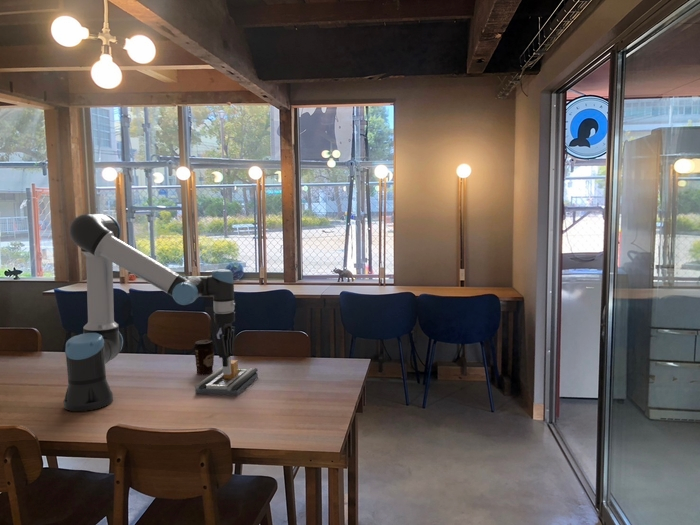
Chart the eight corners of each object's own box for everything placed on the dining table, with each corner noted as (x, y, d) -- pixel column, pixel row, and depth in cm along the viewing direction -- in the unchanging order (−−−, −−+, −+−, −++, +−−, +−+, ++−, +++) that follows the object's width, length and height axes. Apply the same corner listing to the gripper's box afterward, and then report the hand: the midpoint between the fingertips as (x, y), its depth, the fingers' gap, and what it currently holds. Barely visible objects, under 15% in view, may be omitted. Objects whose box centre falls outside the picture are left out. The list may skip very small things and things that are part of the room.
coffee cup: (219, 370, 218) (218, 339, 217) (212, 376, 210) (210, 344, 209) (198, 369, 219) (197, 338, 218) (190, 376, 211) (189, 344, 209)
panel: (237, 395, 188) (237, 387, 188) (195, 393, 191) (195, 384, 191) (257, 377, 208) (257, 369, 207) (219, 375, 211) (218, 367, 210)
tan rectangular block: (234, 378, 200) (233, 363, 200) (224, 378, 201) (223, 363, 200) (238, 375, 204) (237, 360, 203) (228, 375, 205) (227, 360, 204)
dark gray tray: (235, 391, 187) (235, 387, 187) (194, 389, 190) (194, 385, 190) (257, 371, 209) (257, 368, 208) (220, 370, 211) (220, 366, 211)
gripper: (226, 315, 189) (229, 380, 191) (240, 308, 202) (243, 369, 204) (206, 315, 190) (209, 379, 193) (222, 308, 203) (225, 368, 206)
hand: (227, 373), depth 199 cm, fingers closed
